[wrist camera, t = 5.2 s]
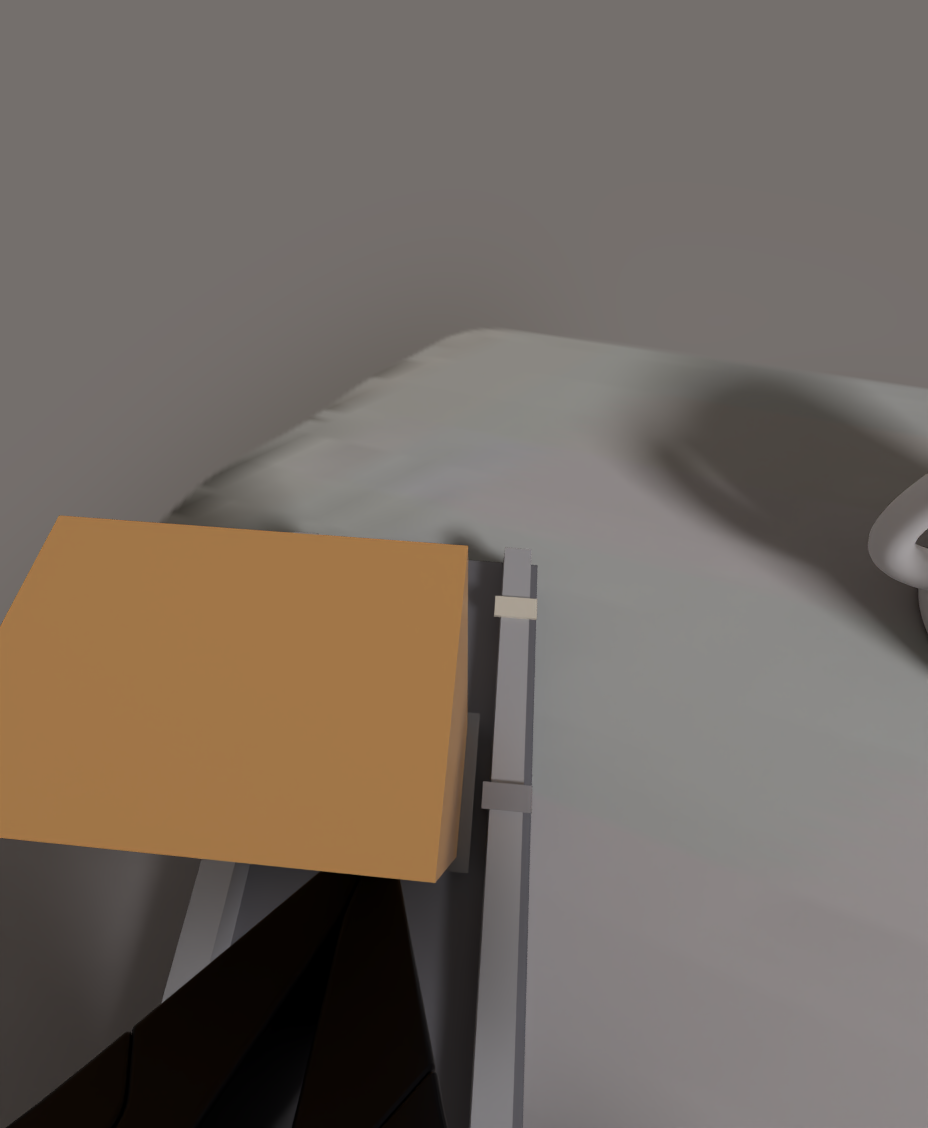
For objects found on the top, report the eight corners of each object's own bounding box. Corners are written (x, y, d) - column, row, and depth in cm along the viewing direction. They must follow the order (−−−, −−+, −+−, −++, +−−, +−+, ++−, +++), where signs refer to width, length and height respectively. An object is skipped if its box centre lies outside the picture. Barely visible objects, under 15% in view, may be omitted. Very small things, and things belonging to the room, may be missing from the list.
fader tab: (468, 871, 13) (470, 934, 4) (265, 850, 13) (-166, 865, 4) (479, 720, 14) (498, 523, 6) (299, 703, 15) (44, 491, 6)
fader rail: (513, 1214, 11) (524, 1310, 9) (150, 1167, 12) (72, 1246, 9) (532, 585, 18) (541, 548, 16) (305, 567, 19) (282, 528, 16)
